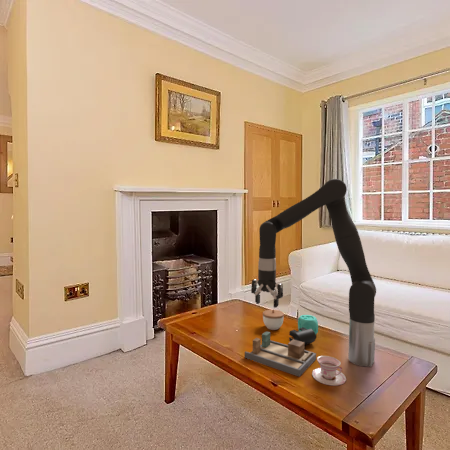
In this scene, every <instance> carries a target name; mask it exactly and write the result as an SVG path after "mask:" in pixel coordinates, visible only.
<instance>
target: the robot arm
mask: <svg viewBox="0 0 450 450" xmlns="http://www.w3.org/2000/svg"><path fill="white" fill-rule="evenodd" d="M346 194H347V185H346V183H345V182H344V181H343V180H341V179H339V178H332V179H329V180H327V181H326V182H325V183H324V184H323V185H322V186H321V187H320V188H319V189H317V190H316V191H315V192H313V193H312V194H310V195H309V196H307V197H305V198H304V199H302V200H301V201H299V202H297V203H295V204H292V205H291V206H289V207H288V208H286V209H285V210H283V211H281V212H280V213H278V214H277V215H275V216H273V217H271V218H269V219H267V220H266V221H263V222H262V223H261V224H260V226H259V230H258V231H259V248H258V261H257V263H258V265H257V266H258V267H257V269H258V271H257V272H258V273H257V276H258V277H257V278H256V279H252V280H251V287H250V288H251V291H250V292H251V294H253V295H254V297H255V298H254V299H255V301H254V302H255V304H256V305H260V303H261V293H262V292H264V293H265V292H266V293H270V295H271V296H272V297H273V308H274V309H276V308H278V307H279V305H280V304H279V303H280V302H279V300H280V299H282V298H283V297H284V288H283V287H284V285H283V283H282V282H281V283H277V281H276V280H277V262H276V261H277V260H276V255H277V252H276V241H277V234H278V233H279V232H281V231H282V230H283V231H284V230H285V229H287V228H290V227H292V226H293V225H295V224H297V223H299V222H300V221H302V220H303V219H305V218H306V217H308V216H309V215H310V214H312V213H314V212H315V211H316V210H318V209H320V208H322V207H324V206H325V207H326V209H327V212H328V215H329V218H330V222H331V227H332V231H333V235H334V239H335V243H336V246H337V250H338V251H339V254H340V256H341V258H342V260H343V261H344V263H345V264H346V266H347V269H348V273H349V275H350V281H351V285H350V287H349V290H348V313H349V324H348V325H349V327H348V359H347V360H348V361H349V362H350V363H352V364H353V365H356V366H360V367H369V368H372V366H373V365H374V363H375V352H376V351H375V349H376V338H375V319H376V317H375V316H376V315H375V297H376V293H377V288H376V284H375V283H374V280H373V277H372V275H371V273H370V270H369V268H368V264H367V262H366V258H365V257H366V256H365V252H364V248H363V245H362V241H361V238H360V235H359V231H358V228H357V226H356V225H355V223H354V220H353V219H352V218H351V215H350V214H349V211H348V209H347V206H346V201H345V197H346ZM257 279H258V280H257ZM257 286H258V288H257Z"/></svg>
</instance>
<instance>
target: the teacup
mask: <svg viewBox="0 0 450 450" xmlns="http://www.w3.org/2000/svg"><path fill="white" fill-rule="evenodd" d="M316 360H317V362H318V365H319V366H320V367H317V368H315V369H313V370H312V371H311V372H312V373H311V376H312V377H313V379H314V380H315V381H316V382H319V383H320V384H323V385H326V386H332V387H333V386H341V385H343V384H345V383H346V382H347V377H346V375H345V374H344V373H343V372H342V370H343V368H342V367H341V364H342V363H341V360H339V359H337V358H336V357H333V356H331V355H330V356H329V355H320V356H317V357H316ZM338 369H339V370H338ZM333 378H334V379H333Z"/></svg>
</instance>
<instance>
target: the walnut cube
mask: <svg viewBox="0 0 450 450" xmlns="http://www.w3.org/2000/svg"><path fill="white" fill-rule="evenodd" d="M292 339H293V340H292V341H291V342H290V341H289V342H288V343H287V345H288V356H291V357H295V358H298V359H300V358H301V357H302V356H303V355H304V350H305V346H306V345H305V342H301V341H298V340H294V338H292Z"/></svg>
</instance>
